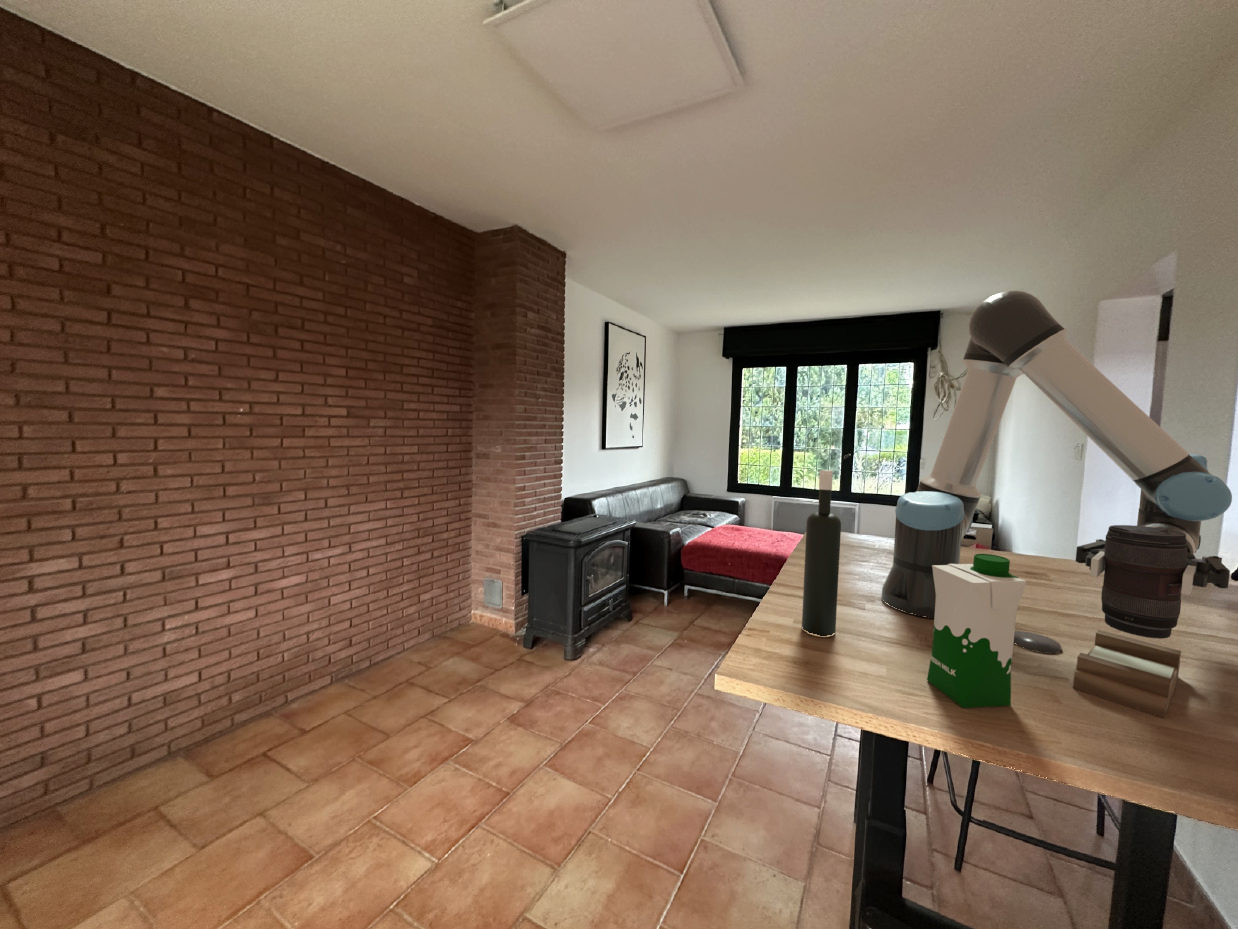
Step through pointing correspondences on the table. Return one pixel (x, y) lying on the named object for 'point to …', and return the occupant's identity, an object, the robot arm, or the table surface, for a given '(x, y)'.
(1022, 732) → the table surface
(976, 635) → the milk carton
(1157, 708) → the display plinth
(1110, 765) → the table surface
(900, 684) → the table surface
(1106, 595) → the camera lens
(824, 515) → the wine bottle
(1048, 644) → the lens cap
